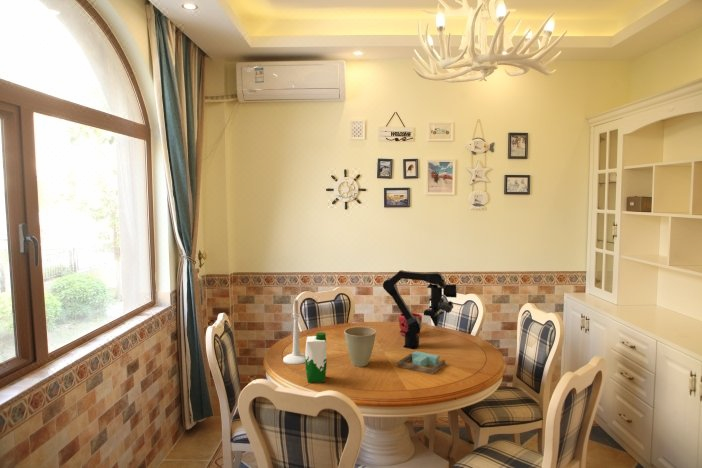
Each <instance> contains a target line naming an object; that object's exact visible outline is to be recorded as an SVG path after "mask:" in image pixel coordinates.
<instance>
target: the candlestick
mask: <svg viewBox="0 0 702 468" xmlns="http://www.w3.org/2000/svg"><path fill="white" fill-rule="evenodd" d="M292 315H293V319H294V320H293V337H292V352H291V353H289V354H287V355H285V356H284V357H283V358H282V362H283V363H284V364H287V365H297V366H298V365H304V364H305V353H303V352H301V349H300V348H301V347H300V331H299V329H300V328H299V317H300V316H299V315H300V312H299V300H298V299H293V312H292Z"/></svg>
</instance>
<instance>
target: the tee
mask: <svg viewBox="0 0 702 468" xmlns="http://www.w3.org/2000/svg"><path fill="white" fill-rule="evenodd" d="M411 354H412V359H411V361H412V364H413V365H418V366H423V367H427V366H431V367H434V366H435V365H436V364H438V363H439V362H440V355H437V354H432V353H427V352H422V351H419V350H418V351H417V350H416V351H415V350H414V352H411Z"/></svg>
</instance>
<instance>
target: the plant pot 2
mask: <svg viewBox="0 0 702 468" xmlns="http://www.w3.org/2000/svg"><path fill="white" fill-rule="evenodd" d="M411 313H412V315H413V316H414V317H417V316H418V318H419V320H420V321H421V324H422V323H423V322H422V321H423V319H422V318H423V316H422V314H419V313H416V312H411ZM398 326H399V328H400V330H399V334H400V335H401V336H403V337H405V333H406V331H407V329H408V325H407V322H406V319H405V317H404V315H403V314H402V312H401V313H399V315H398ZM420 334H421V331H420V332H419V333H418V334H416V335H418V336H420Z"/></svg>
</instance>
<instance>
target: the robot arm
mask: <svg viewBox="0 0 702 468" xmlns="http://www.w3.org/2000/svg"><path fill="white" fill-rule="evenodd" d="M402 279H405V280H413V281H423V282H427V283H429V284H428V285H427V286H426V288H427V289H430V297H429V298H428V299H429V301H430V305H429V307H428V308H426V309H425V310H424V311H423V316H427V317H430V319H431V321H432V323H433V325H434V326H435V327H438V325H439V321H440V319H441V316H442V315H443V314H444V313H447V314H449V313H451V312H452V310H453V308H454V304H453V303H454V302H453V301H451V300H449V301H447V302H446V301H445V299H444V298H443V296H444V297H445V298H457V296H458V294H457V293H458V291H457V290H458V289H457V284H456V283H452V284H451V283H450V284H449V283H446V282H445V280H444V278H443V275H442V272H438V271H430V272H418V271H409V270H401V269H400V270H399V271H398V272H397V273H395V274H394V275H393V276H392V277H389V278H388V277H387V279H386V280H384V282H383V283H382V288H383V289H384V291H385V292H386V293H387V294H389V296H391V297H392V299H393V300H394V303H395V304H396V306H397V307H398V309H399V310H400V312H401V313H402V314H403V315H404V317H405V319H406V322H407V325H408V329H407V331H406V333H405V336H404V345H403V348H406V349H407V348H408V349H413V350H415V349H417V348H418V347H420V338H419V335H416V334H418V333H419V332H420V333H421V330H422V326H423V325H422V323H421V321H420V320H419V318H418V316H417V317H414V316H413V315H412V313H413V312H411V310H410V308H409V307H408V305H407V303H406V301H405V300H404V298H403V296H402V295H401V293H400V292H399V289H398V286H397V283H398V282H399V281H400V280H402ZM443 311H444V312H443Z"/></svg>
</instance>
